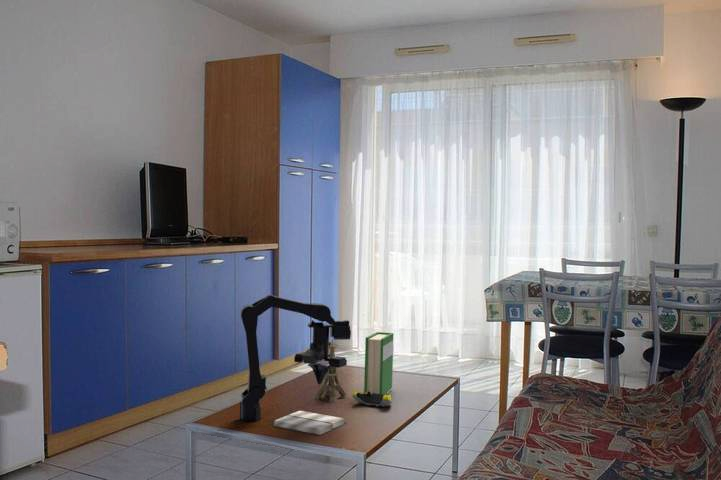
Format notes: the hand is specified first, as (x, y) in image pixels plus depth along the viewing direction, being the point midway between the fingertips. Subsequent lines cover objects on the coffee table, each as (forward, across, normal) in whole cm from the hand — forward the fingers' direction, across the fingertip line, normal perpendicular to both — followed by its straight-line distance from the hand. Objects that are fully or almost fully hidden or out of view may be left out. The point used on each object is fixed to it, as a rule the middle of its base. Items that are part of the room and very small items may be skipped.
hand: (319, 384), depth 231 cm
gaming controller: (+12, +8, +27) cm, 31 cm away
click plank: (+11, +3, -6) cm, 13 cm away
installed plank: (+12, +3, -14) cm, 19 cm away
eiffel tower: (+12, -12, +28) cm, 33 cm away
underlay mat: (+12, +3, -10) cm, 16 cm away
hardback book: (+12, 0, +46) cm, 48 cm away
